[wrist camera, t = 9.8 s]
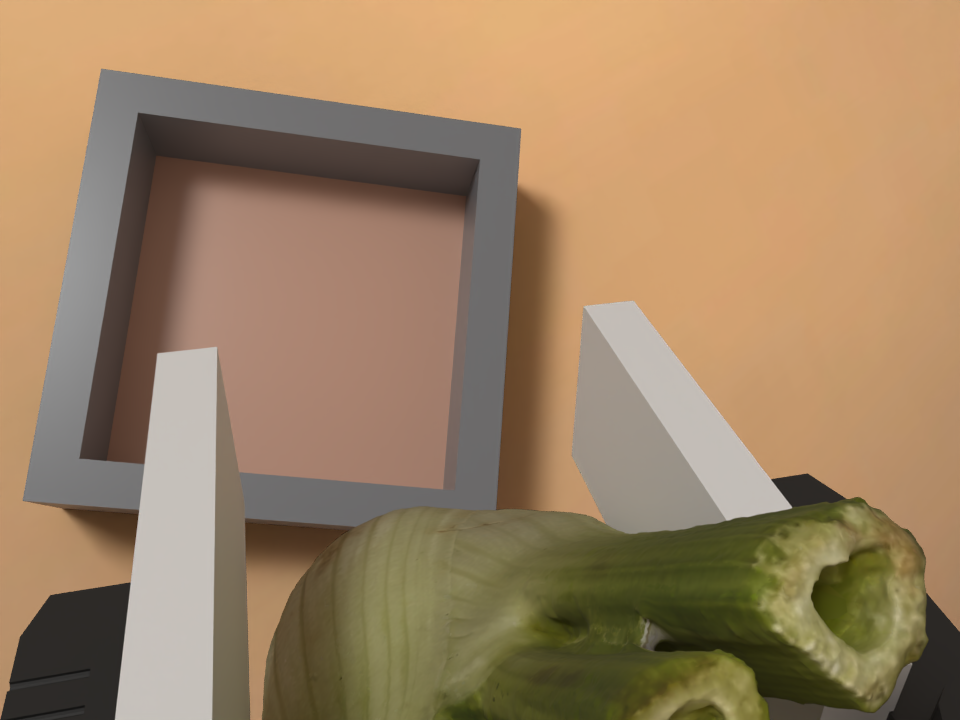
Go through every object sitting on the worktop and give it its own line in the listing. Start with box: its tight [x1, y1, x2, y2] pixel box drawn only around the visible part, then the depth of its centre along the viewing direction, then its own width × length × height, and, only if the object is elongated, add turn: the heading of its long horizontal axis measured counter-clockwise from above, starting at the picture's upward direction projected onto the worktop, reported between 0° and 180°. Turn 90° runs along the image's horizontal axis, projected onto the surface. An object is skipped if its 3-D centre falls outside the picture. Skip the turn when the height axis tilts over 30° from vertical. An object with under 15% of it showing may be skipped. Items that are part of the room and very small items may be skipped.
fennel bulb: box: [262, 497, 929, 720], centre depth 11 cm, size 6×5×12 cm
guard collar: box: [23, 69, 521, 530], centre depth 28 cm, size 12×12×4 cm
